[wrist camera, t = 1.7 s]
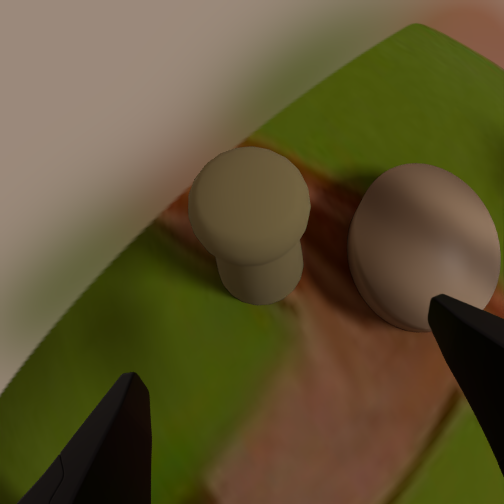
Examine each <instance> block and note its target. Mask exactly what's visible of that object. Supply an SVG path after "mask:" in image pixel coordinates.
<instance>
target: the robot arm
mask: <svg viewBox="0 0 504 504" xmlns="http://www.w3.org/2000/svg"><path fill="white" fill-rule="evenodd" d="M428 324H429V326H430V328H431V330H432V333H433V335H434V337H435V339H436V341H437V343H438V345H439V348H440V350H441V352H442V354H443V356H444V358H445V361H446V363H447V364H448V366H449V368H450V370H451V372H452V373H453V375H454V377H455V379H456V380H457V382H458V384H459V386H460V388H461V389H462V391H463V393H464V395H465V397H466V399H467V400H468V402H469V404H470V406H471V408H472V410H473V412H474V414H475V416H476V418H477V420H478V422H479V424H480V426H481V428H482V430H483V432H484V434H485V436H486V438H487V440H488V442H489V444H490V446H491V449H492V451H493V453H494V455H495V457H496V460H497V462H498V465H499V467H500V469H501V472H502V474H503V477H504V319H502V318H500V317H498V316H496V315H493V314H491V313H489V312H486V311H484V310H481V309H479V308H477V307H474V306H472V305H470V304H467V303H465V302H462V301H460V300H458V299H455V298H453V297H450V296H448V295H445V294H439V295H436V296H434V297H432V298H431V300H430V305H429V311H428ZM151 453H152V431H151V416H150V398H149V391H148V389H147V387H146V386H145V384H144V383H143V381H142V380H141V379H140V377H139V376H138V374H137V373H135V372H130V373H124V374H122V375H121V376H120V377H119V379H118V380H117V381H116V382H115V384H114V385H113V386H112V387H111V389H110V390H109V391H108V392H107V394H106V395H105V396H104V397H103V399H102V400H101V401H100V403H99V404H98V405H97V406H96V408H95V409H94V410H93V411H92V413H91V414H90V415H89V417H88V418H87V419H86V420H85V422H84V423H83V424H82V425H81V427H80V428H79V429H78V431H77V432H76V433H75V434H74V436H73V437H72V438H71V440H70V441H69V442H68V444H67V445H66V446H65V447H64V449H63V450H62V451H61V453H60V455H58V456H57V458H56V459H55V460H54V462H53V463H52V464H51V465H50V467H49V468H48V469H47V470H46V472H45V473H44V474H43V475H42V476H41V478H40V479H39V480H38V481H37V482H36V483H35V484H34V485H33V486H32V488H31V489H30V490H29V491H28V492H27V493H26V494H25V495H24V496H23V497H22V498H21V499H20V500H19V502H18V503H17V504H151Z"/></svg>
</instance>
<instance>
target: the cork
mask: <svg viewBox="0 0 504 504" xmlns="http://www.w3.org/2000/svg"><path fill="white" fill-rule="evenodd" d="M310 208H311V205H310V198H309V192H308V188H307V185H306V183H305V181H304V179H303V177H302V175H301V174H300V172H299V170H298V169H297V168H296V167H295V166H294V165H293V164H292V163H291V162H290V161H289V160H288V159H286V158H285V157H283V156H281V155H279V154H277V153H275V152H272V151H270V150H268V149H263V148H258V147H242V148H235V149H232V150H229V151H226V152H224V153H221V154H219V155H218V156H217V157H215V158H214V159H212V160H211V161H210V162H208V163H207V164H206V165H205V166H204V168H203V169H202V170H201V172H200V173H199V174H198V175H197V177H196V178H195V179H194V182H193V185H192V187H191V190H190V193H189V203H188V215H189V220H190V223H191V226H192V229H193V232H194V234H195V236H196V237H197V238H198V239H199V241H200V242H201V243H202V244H203V246H204V247H205V248H206V249H207V251H208V252H209V253H211V254H212V255H214V256H215V257H216V262H217V267H218V272H219V275H220V277H221V280H222V283H223V285H224V286H225V287H226V289H227V290H228V291H229V292H230V293H231V295H233V296H234V297H236V298H238V299H239V300H241V301H242V302H245V303H249V304H253V305H266V304H272V303H274V302H277V301H279V300H282V299H284V298H285V297H286V296H287V295H288V294H290V293H291V292H292V291H293V290H294V289H295V287H296V285H297V284H298V282H299V280H300V279H301V274H302V270H303V256H302V249H301V244H300V238H301V237H302V235H303V233H304V232H305V230H306V227H307V223H308V218H309V213H310Z"/></svg>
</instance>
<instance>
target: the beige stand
mask: <svg viewBox="0 0 504 504" xmlns="http://www.w3.org/2000/svg"><path fill="white" fill-rule="evenodd" d="M347 257H348V264H349V268H350V272H351V275H352V278H353V281H354V283H355V285H356V287H357V289H358V291H359V293H360V295H361V296H362V298H363V299H364V301H365V302H366V303H367V304H368V306H369V307H370V308H371V309H372V310H373V311H374V312H375V313H376V314H377V315H378V316H379V317H381V318H382V319H384V320H385V321H386V322H388V323H390V324H392V325H394V326H395V327H398V328H400V329H403V330H406V331H412V332H431V331H432V330H431V328H430V326H429V324H428V311H429V305H430V300H431V298H432V297H434V296H436V295H439V294H445V295H448V296H450V297H453V298H455V299H458V300H460V301H462V302H465V303H467V304H470V305H472V306H474V307H477V308H479V309H481V310H483V309H484V308H485V306H486V305H487V303H488V302H489V301H490V299H491V297H492V295H493V293H494V290H495V288H496V285H497V282H498V277H499V272H500V246H499V240H498V235H497V232H496V229H495V226H494V223H493V220H492V218H491V216H490V214H489V212H488V210H487V209H486V207H485V205H484V204H483V202H482V201H481V199H480V198H479V197H478V196H477V194H476V193H475V192H474V191H473V190H472V189H471V188H470V187H469V186H468V185H467V184H466V183H465V182H463V181H462V180H461V179H459V178H458V177H457V176H455V175H453V174H452V173H450V172H448V171H446V170H444V169H441V168H438V167H435V166H432V165H427V164H417V163H414V164H405V165H400V166H397V167H394V168H392V169H390V170H388V171H386V172H384V173H383V174H382V175H380V176H379V177H378V178H377V179H376V180H375V181H374V182H373V183H372V184H371V185H370V187H369V188H368V190H367V191H366V193H365V195H364V197H363V198H362V200H361V202H360V204H359V206H358V208H357V210H356V212H355V214H354V216H353V218H352V221H351V224H350V227H349V231H348V237H347Z"/></svg>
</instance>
